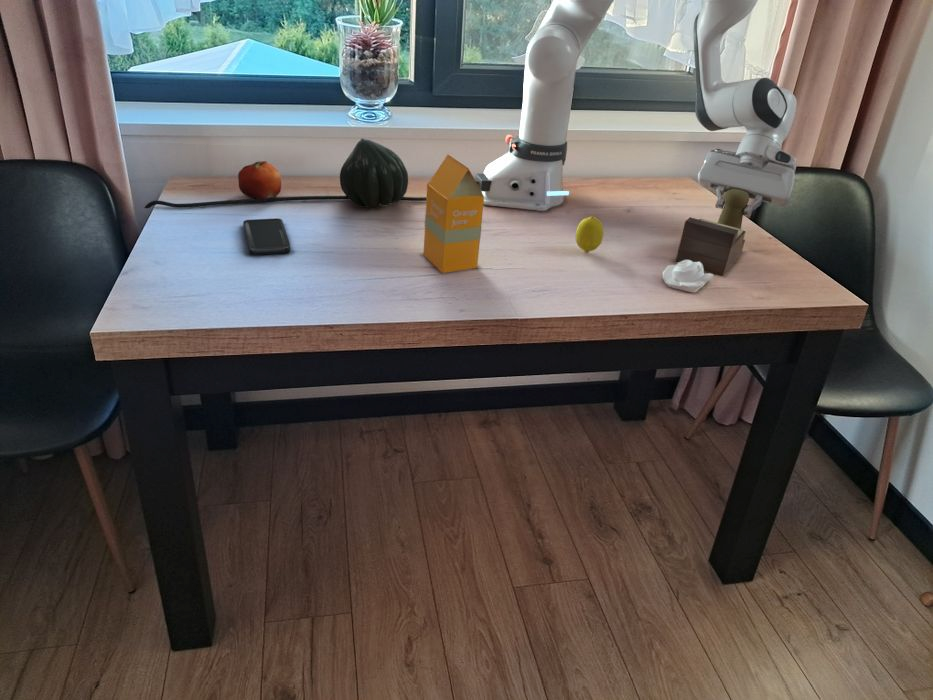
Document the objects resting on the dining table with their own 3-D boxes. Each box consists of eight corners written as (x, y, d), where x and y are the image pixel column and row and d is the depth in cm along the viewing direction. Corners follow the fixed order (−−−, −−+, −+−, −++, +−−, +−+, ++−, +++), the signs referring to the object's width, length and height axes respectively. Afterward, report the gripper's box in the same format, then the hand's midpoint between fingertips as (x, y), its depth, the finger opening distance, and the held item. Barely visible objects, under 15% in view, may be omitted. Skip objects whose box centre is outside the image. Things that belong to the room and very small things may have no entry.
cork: (740, 244, 164) (754, 197, 158) (713, 240, 165) (725, 193, 159) (737, 234, 169) (751, 188, 163) (710, 230, 170) (723, 184, 164)
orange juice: (442, 273, 140) (449, 170, 130) (422, 254, 147) (427, 155, 136) (478, 267, 144) (488, 166, 133) (457, 249, 150) (465, 152, 140)
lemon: (601, 250, 156) (608, 214, 151) (596, 260, 151) (603, 223, 147) (576, 245, 157) (582, 209, 153) (570, 254, 152) (576, 218, 148)
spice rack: (696, 240, 165) (706, 201, 160) (741, 252, 160) (753, 213, 156) (675, 261, 153) (685, 221, 149) (722, 275, 149) (734, 234, 145)
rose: (725, 274, 139) (675, 272, 138) (719, 295, 141) (670, 293, 140) (707, 252, 148) (659, 250, 147) (701, 272, 150) (655, 270, 149)
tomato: (290, 197, 167) (289, 162, 163) (260, 208, 161) (258, 172, 156) (261, 187, 171) (258, 153, 167) (230, 197, 165) (227, 162, 160)
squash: (425, 189, 163) (402, 126, 163) (364, 201, 155) (340, 135, 156) (401, 213, 175) (379, 154, 176) (343, 225, 168) (321, 164, 168)
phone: (248, 250, 139) (242, 219, 151) (249, 255, 140) (243, 225, 152) (291, 247, 142) (282, 218, 154) (291, 252, 142) (282, 223, 154)
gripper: (709, 139, 167) (686, 191, 164) (803, 160, 158) (780, 215, 156) (710, 154, 172) (687, 205, 170) (801, 175, 164) (778, 229, 162)
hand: (732, 210), depth 163 cm, fingers closed on cork, 5 cm apart
